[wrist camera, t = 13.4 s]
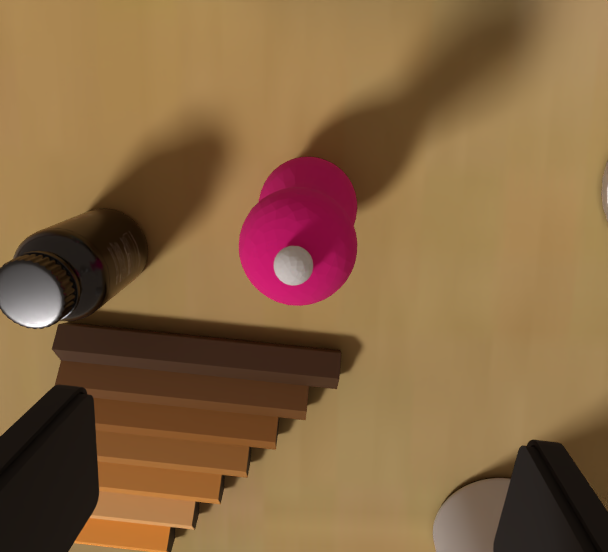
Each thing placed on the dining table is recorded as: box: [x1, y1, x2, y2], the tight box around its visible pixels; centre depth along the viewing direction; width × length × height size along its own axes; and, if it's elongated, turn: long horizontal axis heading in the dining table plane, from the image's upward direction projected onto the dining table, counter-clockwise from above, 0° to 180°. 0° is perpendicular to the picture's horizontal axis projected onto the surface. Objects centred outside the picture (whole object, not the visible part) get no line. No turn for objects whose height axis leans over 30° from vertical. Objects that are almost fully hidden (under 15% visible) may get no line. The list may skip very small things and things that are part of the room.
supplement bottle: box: [0, 209, 148, 329], centre depth 36 cm, size 7×7×12 cm
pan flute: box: [52, 323, 341, 552], centre depth 47 cm, size 25×3×25 cm
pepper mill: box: [239, 157, 357, 306], centre depth 30 cm, size 7×7×20 cm
